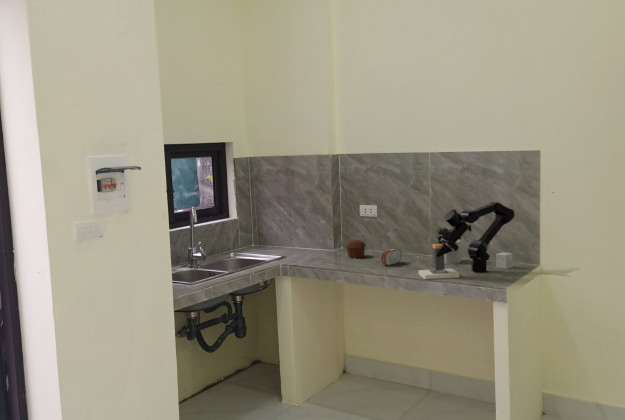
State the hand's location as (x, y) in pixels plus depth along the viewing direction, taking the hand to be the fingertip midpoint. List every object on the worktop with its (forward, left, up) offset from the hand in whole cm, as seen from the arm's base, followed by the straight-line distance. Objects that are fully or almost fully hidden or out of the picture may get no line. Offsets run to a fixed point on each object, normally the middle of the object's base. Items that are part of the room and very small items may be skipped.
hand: (435, 255), depth 312 cm
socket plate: (-1, 0, -10) cm, 10 cm away
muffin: (+34, -60, -10) cm, 70 cm away
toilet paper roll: (-15, -34, -10) cm, 39 cm away
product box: (-38, -13, -10) cm, 42 cm away
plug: (-1, 0, -7) cm, 7 cm away
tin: (+17, -34, -10) cm, 39 cm away
